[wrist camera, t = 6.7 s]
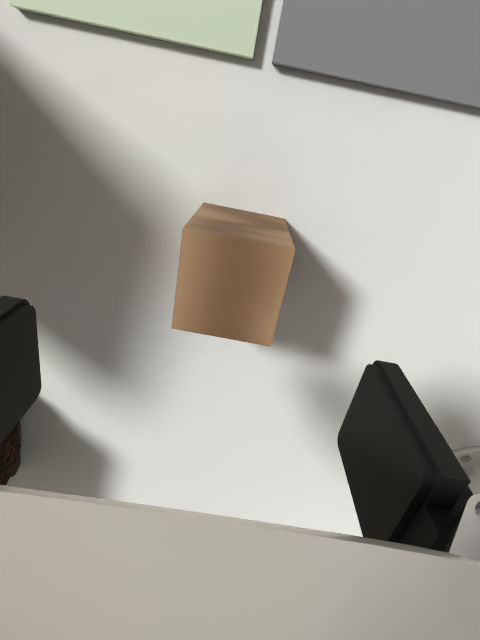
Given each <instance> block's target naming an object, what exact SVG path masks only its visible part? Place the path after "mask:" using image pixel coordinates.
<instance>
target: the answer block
mask: <svg viewBox="0 0 480 640" xmlns="http://www.w3.org/2000/svg"><path fill="white" fill-rule="evenodd" d="M295 251H296V250H295V247H294V244H293V241H292V238H291V235H290V232H289V229H288V226H287V223H286V220H285V219H284V218H279V217H274V216H269V215H264V214H259V213H254V212H248V211H243V210H238V209H233V208H228V207H223V206H218V205H213V204H208V203H203V204H202V205H201V207H200V208H199V209H198V210H197V212H196V213H195V214H194V215H193V217H192V218H191V219H190V220H189V222H188V223H187V224H186V225H185V226H184V228H183V233H182V242H181V251H180V259H179V268H178V277H177V285H176V294H175V303H174V311H173V320H172V329H178V330H183V331H189V332H194V333H200V334H205V335H211V336H216V337H222V338H227V339H233V340H238V341H244V342H249V343H255V344H260V345H266V346H271V344H272V340H273V336H274V332H275V328H276V324H277V320H278V316H279V313H280V309H281V305H282V301H283V297H284V293H285V289H286V285H287V282H288V278H289V274H290V270H291V266H292V262H293V258H294V254H295Z"/></svg>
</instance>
